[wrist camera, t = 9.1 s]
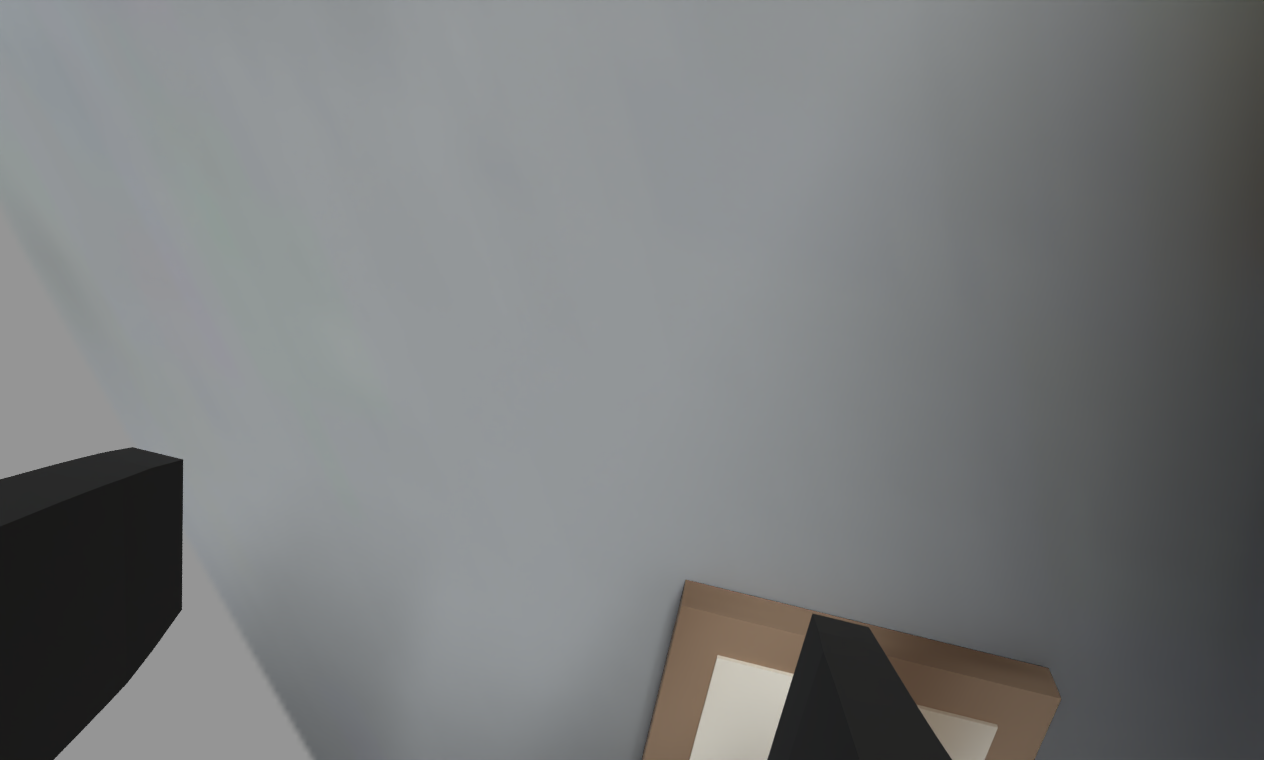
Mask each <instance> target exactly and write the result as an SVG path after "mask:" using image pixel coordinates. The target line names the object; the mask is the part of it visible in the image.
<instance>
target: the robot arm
mask: <svg viewBox="0 0 1264 760" xmlns="http://www.w3.org/2000/svg"><path fill="white" fill-rule="evenodd" d="M182 520H183V460H182V459H178V458H174V457H170V456H166V455H162V454H158V453H154V452H150V451H146V450H141V449H137V448H133V447H132V448H127V449H121V450H115V451H109V452H105V453H100V454H96V455H91V456H87V457H83V458H79V459H75V460H71V461H67V462H63V463H59V464H56V465H52V466H48V467H44V468H41V469H37V470H33V471H30V472H26V473H22V474H19V475H15V476H11V477H8V478H4V479H0V760H54V759H55V757H57V756H58V754H59V753H60V752H61V751H62V750H63V749H64V748H65V747H66V746H67V745H68V744H69V743H70V742H71V741H72V740H73V739H74V738H75V737H76V736H77V735H78V734H79V733H80V732H81V731H82V730H83V729H84V728H85V727H86V726H87V725H88V724H89V723H90V722H91V720H92V719H93V718H94V717H95V716H96V715H97V714H98V713H99V712H100V711H101V710H102V709H103V708H104V707H105V706H106V705H107V704H108V703H109V702H110V701H111V700H112V698H113V697H114V696H115V695H116V694H117V693H118V692H119V691H120V690H121V689H122V688H123V687H124V686H125V685H126V683H128V681H129V680H130V679H131V677H132V676H133V675H134V674H135V672H136V671H137V670H138V668H139V667H140V666H141V665H142V663H143V662H144V661H145V659H146V658H147V657H148V655H149V654H150V653H151V652H152V650H153V649H154V648H155V646H156V645H157V643H158V642H159V641H160V639H161V638H162V636H163V635H164V634H165V632H166V631H167V629H168V628H169V626H170V625H171V624H172V622H173V621H174V620H175V618H176V617H177V615H178V614H179V613H180V611H181V610H182ZM767 760H952V759H951V757H950V756H949V754H948V753H947V751H946V750H945V748H944V747H943V745H942V744H941V742H940V741H939V739H938V738H937V736H936V735H935V733H934V732H933V730H932V728H931V727H930V725H929V724H928V722H927V721H926V719H925V717H924V716H923V714H922V713H921V711H920V709H919V708H918V706H917V705H916V703H915V701H914V700H913V698H912V697H911V695H910V693H909V692H908V690H907V688H906V687H905V685H904V684H903V682H902V680H901V679H900V677H899V675H898V674H897V672H896V670H895V669H894V667H893V666H892V664H891V662H890V661H889V659H888V657H887V656H886V654H885V652H884V651H883V649H882V648H881V646H880V644H879V643H878V641H877V639H876V638H875V636H874V635H873V633H872V631H871V630H870V628H869V627H866V626H862V625H858V624H854V623H850V622H846V621H842V620H838V619H834V618H830V617H825V616H821V615H817V614H813V613H812V617H811V620H810V623H809V626H808V629H807V633H806V636H805V639H804V642H803V646H802V649H801V652H800V655H799V659H798V662H797V665H796V668H795V672H794V675H793V678H792V681H791V684H790V688H789V691H788V694H787V697H786V701H785V704H784V707H783V710H782V714H781V717H780V720H779V723H778V727H777V730H776V733H775V736H774V739H773V743H772V746H771V749H770V752H769V756H768V759H767Z"/></svg>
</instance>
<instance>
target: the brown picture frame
mask: <svg viewBox="0 0 1264 760" xmlns="http://www.w3.org/2000/svg"><path fill="white" fill-rule="evenodd" d="M812 613H813V614H817V615H821V616H825V617H830V618H834V619H838V620H842V621H846V622H850V623H854V624H858V625H862V626H866V627H869V628H870V630H871V631H872V633H873V635H874V636H875V638H876V639H877V641H878V643H879V644H880V646H881V648H882V649H883V651H884V652H885V654H886V656H887V657H888V659H889V661H890V662H891V664H892V666H893V667H894V669H895V670H896V672H897V674H898V675H899V677H900V679H901V680H902V682H903V684H904V685H905V687H906V688H907V690H908V692H909V693H910V695H911V697H912V698H913V700H914V701H915V703H916V705H917V706H918V708H919V709H920V711H921V713H922V714H923V716H924V717H925V719H926V721H927V722H928V724H929V725H930V727H931V728H932V730H933V732H934V733H935V735H936V736H937V738H938V739H939V741H940V742H941V744H942V745H943V747H944V748H945V750H946V751H947V753H948V754H949V756H950V757H951V759H952V760H1034V759H1035V757H1036V755H1037V752H1038V750H1039V748H1040V746H1041V743H1042V741H1043V739H1044V737H1045V734H1046V732H1047V730H1048V728H1049V726H1050V723H1051V721H1052V719H1053V717H1054V714H1055V712H1056V710H1057V708H1058V705H1059V703H1060V701H1061V697H1060V694H1059V692H1058V690H1057V687H1056V685H1055V682H1054V680H1053V678H1052V675H1051V673H1050V670H1049V668H1046V667H1041V666H1037V665H1033V664H1029V663H1025V662H1021V661H1017V660H1013V659H1009V658H1005V657H1000V656H996V655H992V654H988V653H984V652H980V651H976V650H972V649H968V648H964V647H959V646H955V645H951V644H947V643H943V642H939V641H935V640H931V639H927V638H923V637H918V636H914V635H910V634H906V633H902V632H898V631H894V630H890V629H886V628H882V627H877V626H873V625H869V624H865V623H861V622H857V621H853V620H849V619H845V618H841V617H836V616H832V615H828V614H824V613H820V612H816V611H812V610H808V609H804V608H800V607H795V606H791V605H787V604H783V603H779V602H775V601H771V600H767V599H763V598H759V597H754V596H750V595H746V594H742V593H738V592H734V591H730V590H726V589H722V588H718V587H713V586H709V585H705V584H701V583H697V582H693V581H689V580H686V581H685V585H684V589H683V593H682V597H681V601H680V605H679V610H678V614H677V618H676V622H675V626H674V630H673V634H672V638H671V642H670V646H669V650H668V654H667V659H666V663H665V667H664V671H663V675H662V679H661V683H660V687H659V691H658V695H657V699H656V703H655V708H654V712H653V716H652V720H651V724H650V728H649V732H648V736H647V740H646V744H645V748H644V752H643V757H642V760H767V759H768V756H769V752H770V749H771V746H772V743H773V739H774V736H775V733H776V730H777V727H778V723H779V720H780V717H781V714H782V710H783V707H784V704H785V701H786V697H787V694H788V691H789V688H790V684H791V681H792V678H793V675H794V672H795V668H796V665H797V662H798V659H799V655H800V652H801V649H802V646H803V642H804V639H805V636H806V633H807V629H808V626H809V623H810V620H811V617H812Z"/></svg>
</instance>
